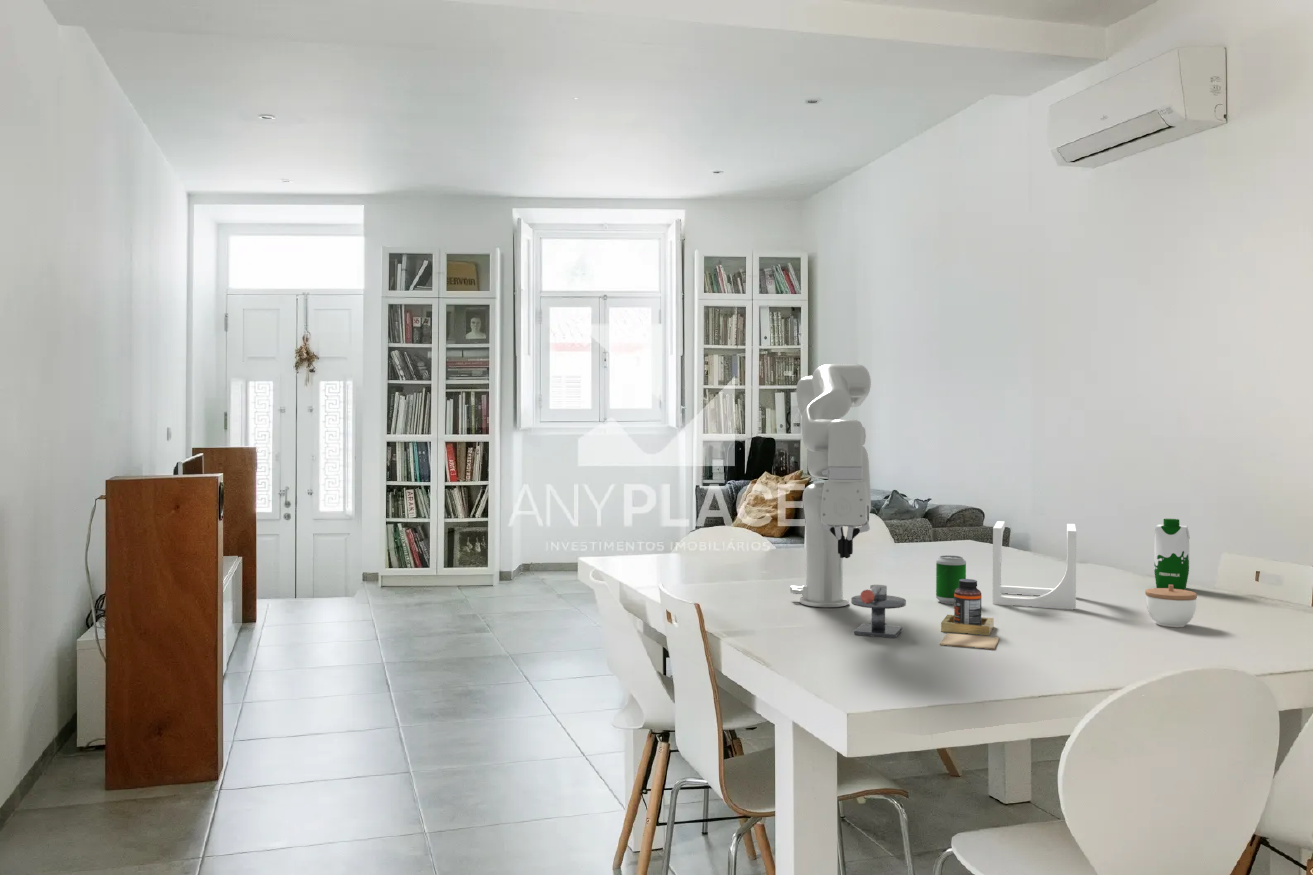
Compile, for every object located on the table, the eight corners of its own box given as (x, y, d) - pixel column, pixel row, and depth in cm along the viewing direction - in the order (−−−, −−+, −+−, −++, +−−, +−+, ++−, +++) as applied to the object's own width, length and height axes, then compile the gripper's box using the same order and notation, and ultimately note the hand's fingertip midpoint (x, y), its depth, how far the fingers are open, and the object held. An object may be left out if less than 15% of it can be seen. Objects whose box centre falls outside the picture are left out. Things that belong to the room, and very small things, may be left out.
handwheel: (857, 597, 230) (857, 576, 230) (910, 601, 225) (910, 579, 225) (838, 611, 212) (838, 588, 212) (894, 616, 207) (894, 592, 207)
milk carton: (1152, 589, 281) (1153, 519, 281) (1156, 584, 289) (1156, 516, 288) (1187, 591, 276) (1188, 520, 276) (1190, 587, 284) (1190, 518, 284)
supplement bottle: (950, 626, 228) (950, 578, 228) (974, 626, 229) (975, 577, 229) (960, 632, 222) (960, 582, 222) (985, 631, 223) (985, 581, 223)
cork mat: (939, 645, 209) (939, 643, 209) (946, 635, 219) (946, 633, 219) (994, 649, 205) (994, 648, 205) (998, 639, 215) (998, 637, 215)
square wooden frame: (941, 631, 223) (941, 622, 223) (947, 623, 232) (947, 614, 232) (989, 635, 219) (989, 626, 219) (993, 626, 228) (993, 618, 228)
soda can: (967, 605, 255) (967, 559, 255) (937, 604, 257) (937, 558, 257) (964, 600, 263) (964, 555, 263) (935, 599, 264) (935, 554, 264)
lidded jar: (1192, 621, 234) (1192, 582, 234) (1200, 630, 224) (1201, 589, 224) (1142, 618, 238) (1142, 580, 238) (1148, 627, 228) (1149, 587, 228)
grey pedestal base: (854, 634, 220) (854, 607, 219) (862, 626, 228) (862, 601, 228) (894, 638, 216) (895, 610, 216) (902, 630, 224) (902, 604, 224)
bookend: (992, 604, 257) (993, 527, 257) (996, 592, 276) (997, 521, 276) (1075, 609, 250) (1076, 531, 250) (1074, 597, 268) (1074, 523, 268)
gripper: (808, 475, 219) (808, 557, 219) (875, 476, 213) (875, 560, 213) (816, 474, 226) (816, 554, 226) (882, 475, 220) (882, 557, 220)
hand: (845, 557), depth 219 cm, fingers closed
